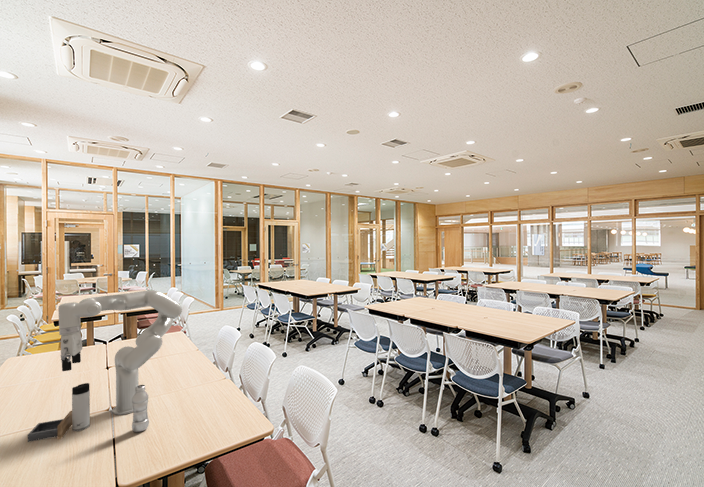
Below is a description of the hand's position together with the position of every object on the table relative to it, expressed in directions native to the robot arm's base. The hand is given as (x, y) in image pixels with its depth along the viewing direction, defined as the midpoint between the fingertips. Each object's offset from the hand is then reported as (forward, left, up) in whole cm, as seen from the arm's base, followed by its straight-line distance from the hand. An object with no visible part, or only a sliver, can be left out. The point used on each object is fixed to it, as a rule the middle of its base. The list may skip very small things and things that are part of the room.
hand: (71, 366), depth 151 cm
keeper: (+8, +1, -28) cm, 29 cm away
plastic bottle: (-30, +15, -29) cm, 44 cm away
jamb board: (+1, +2, -28) cm, 28 cm away
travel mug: (-4, +2, -29) cm, 29 cm away
